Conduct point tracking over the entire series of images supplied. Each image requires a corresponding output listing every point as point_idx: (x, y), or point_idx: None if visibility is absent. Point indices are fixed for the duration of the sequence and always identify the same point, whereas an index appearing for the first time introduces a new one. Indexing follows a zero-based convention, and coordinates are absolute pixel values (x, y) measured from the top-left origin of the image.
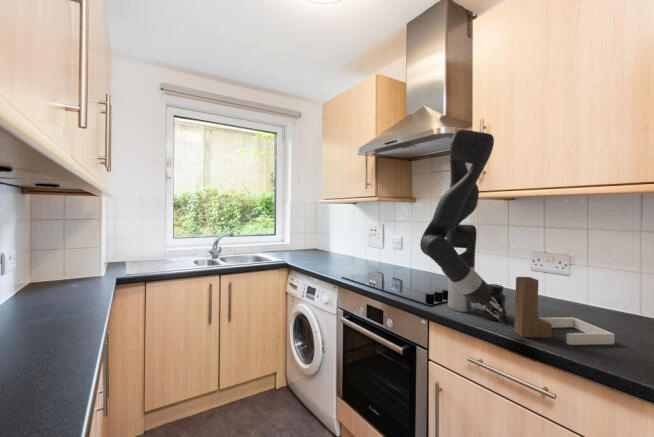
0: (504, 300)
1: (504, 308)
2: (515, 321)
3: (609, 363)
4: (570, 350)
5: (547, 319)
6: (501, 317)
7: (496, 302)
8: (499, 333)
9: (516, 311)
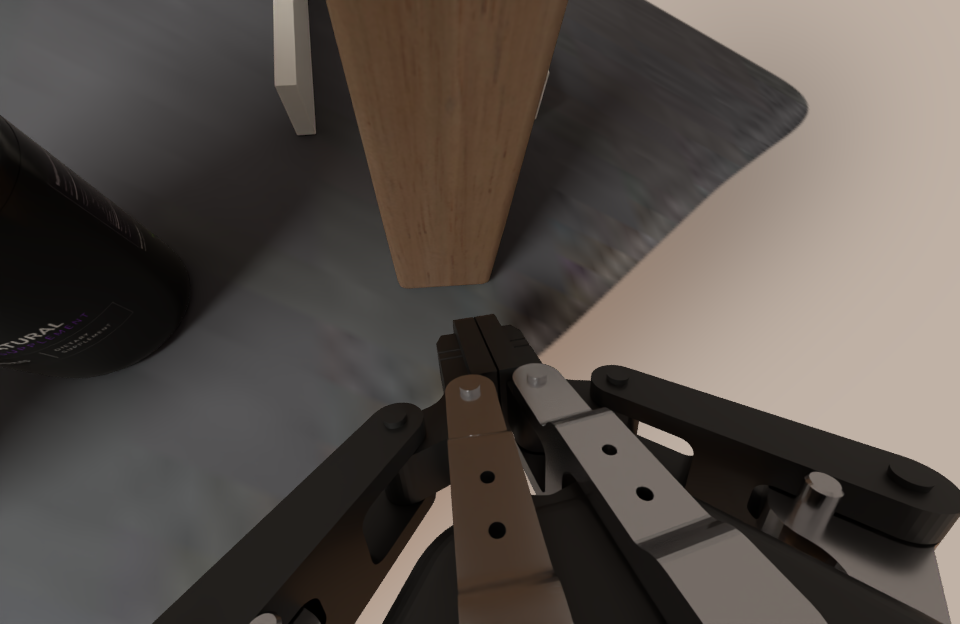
0: (26, 142)
1: (880, 452)
2: (408, 252)
3: (685, 95)
4: (601, 149)
5: (295, 37)
6: (645, 440)
7: (689, 498)
8: (435, 398)
9: (412, 199)
